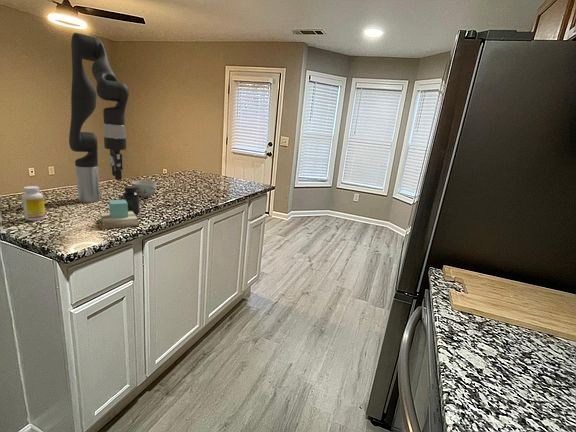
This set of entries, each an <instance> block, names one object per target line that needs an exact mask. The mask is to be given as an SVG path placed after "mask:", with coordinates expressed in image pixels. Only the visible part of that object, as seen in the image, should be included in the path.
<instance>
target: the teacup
mask: <svg viewBox="0 0 576 432" xmlns="http://www.w3.org/2000/svg"><path fill="white" fill-rule="evenodd" d="M131 186H135V187H137V191H136V192H137V193H138V194H139V196H141V197H140V198H148V197H147V196H149V197H151V196H152V195H154V194H156V189H157V182H156V181H155V180H147V179H146V180H145V179H141V180H139V179H138V180H135V181H132V182H131Z"/></svg>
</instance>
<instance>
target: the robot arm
mask: <svg viewBox="0 0 576 432" xmlns="http://www.w3.org/2000/svg"><path fill="white" fill-rule="evenodd" d="M70 46H71V66H72V67H71V69H72V70H71V72H72V75H71V77H72V78H71V91H70V94H71V96H70V103H71V105H70V109H71V110H70V111H71V112H70V113H71V115H70V126H69V127H70V128H69V133H68V134H69V135H68V136H69V137H68V143H69V148H70V150H71V151H72V152H80V153H87V154H86V155H84V156H82V157H80V158H79V157H78V158H77V159H75V161H74V165H75V166H74V167H75V174H76V175H75V176H76V177H75V178H76V187H77V199H78V201H79V202H81V203H96V202H99V201H100V200H101V192H100V177H99V156H98V155H99V154H98V152H99V151H98V150H99V149H98V147H99V146H98V138H97V135H96V134H95V133H94V132H90V131H88V132H87V131H81V130H82V128H83V125H84V123H85V122H86V120H88V119H89V118H90V116H91V115H92V114H93V113H94V111H95V110H96V106H97V96H98V97H99V99H102V100H103V101H108V102H109V101H111V102H116V105H115V106H111V107H110V106H109V107H104V108H103V110H102V112H103V114H102V115H103V130H102V131H103V144H104V145H103V146H104V149H106V150H109V161H110V166H111V173H112V174H111V175H112V176H113V177H114V180H115V181H122V179H123V178H122V176H123V175H122V171H123V170H124V167H123V154H122V153H121V151H124V150H125V151H126V150H127V131H126V125H125V124H126V123H125V119H126V118H125V117H126V116H125V114H126V107H127V103H128V100H129V96H130V90H129V87H128V86H127V85H126V84H125V83H124V82H121V81H118V79H117V77H116V75H115V72H114V71H113V69H112V68H111V65H110V62H109V57H108V54H107V51H106V49H105V45H104V43H103V41H101V39H99V38H97V37H93V36H91V35H87V34H83V33H79V32H74V33H73V34H72V35H71V43H70ZM83 60H84V61H89V62H93V63H92V65H91V72H92V73H91V74H92V75H93V77H94V79H95V81H96V88H95V87H94V85H93V83H92V82H91V81H90V79H89V78H88V76H87V74H86V72H85V71H86V70H85V69H84V65H83Z"/></svg>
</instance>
